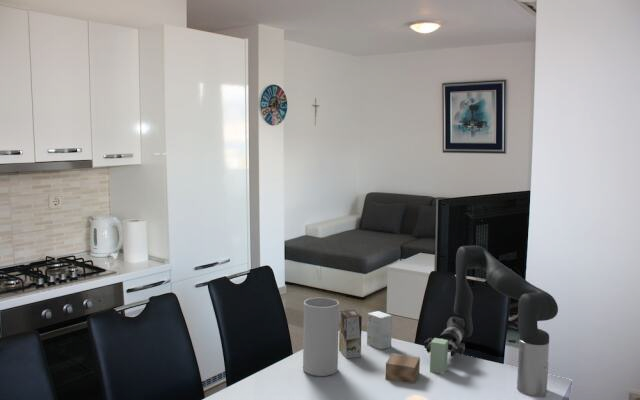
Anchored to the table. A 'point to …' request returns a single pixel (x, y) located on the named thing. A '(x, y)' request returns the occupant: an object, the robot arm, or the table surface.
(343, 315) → the coffee box
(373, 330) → the small box
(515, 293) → the robot arm
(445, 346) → the sage block
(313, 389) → the table surface
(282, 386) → the table surface
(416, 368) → the walnut block
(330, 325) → the cylinder vase
